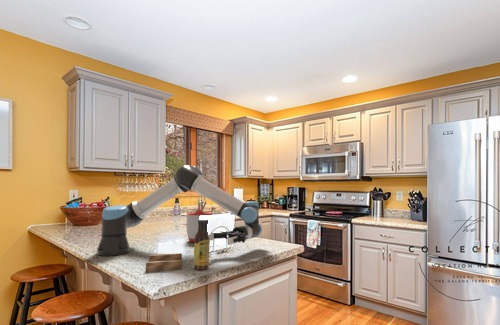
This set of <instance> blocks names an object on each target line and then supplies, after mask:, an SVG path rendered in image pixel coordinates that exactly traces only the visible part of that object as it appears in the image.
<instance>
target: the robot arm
mask: <svg viewBox="0 0 500 325" xmlns="http://www.w3.org/2000/svg"><path fill="white" fill-rule="evenodd" d="M188 191H190V192H196V193H197V194H199V195H200V196H202V197H204V198H205V199H207V200H210V201H212V202H213V203H214V204H216V205H218V206H220V207H222V208H223V209H225V210H227V211H229V212H230V213H231V214H233V215H235V216H237V217H238V218H240V219H241V220H242V222H244V225H243V224H242V225H238V226H234V228H233V229H232V230H230V231H227V230H225V231H226V232H223V231H221V232H222V233H213V232H211V234H209V235H208V236H209V240H210V241H213V240H215V239H226V240H227V246H231V245H234V244H236V243H245V242H246V241H247V240H250V239H254V238H257V237H259V236H260V235H261V234H262V232H263V228H262V226H261V224H260V221H259V217H260V216H259V211H260V210H259V209H260V207H259V202H258V201H254V200H253V201H252V200H251V201H249V200H248V201H246V202H244V201H242V200H240V199H239V198H237V197H236V196H234V195H232V194H230V193H229V192H227V191H225V190H224V189H222V188H220V187H218V186H216V185H215V184H214V183H211V182H210V181H208V180H206V179H204V175H203V171H202V170H201V169H200V168H198V167H197V166H195V165H188V164H184V165H181V166H179V167H178V168H177V170H176V171H175V174H173V175H172V179H170V180H169V181H168V182H167V183H165V184H163V185H162V186H160V187H159V188H157V189H156V190H154V191H152V192H151V193H150V194H148V195H146V196H145V197H143V198H141V199H140V200H139V201H136V200H134V201H132V202H130V203H129V204H127V205H112V206H111V205H110V206H107V207H104V208H103V210H102V214H101V237H100V241H99V244H98V246H97V248H96V255H97V256H101V257H109V256H110V257H113V256H121V255H124V254H128V253H129V252H130V250H131V249H130V248H131V247H130V244H129V243H130V242H129V240H128V238H127V233H128V232H127V230H128V229H129V228H134V227H137V226H138V225H139V224H140V223H142V222H143V221H144V220H145V219H146V218H147V215H148V214H149V213H151V212H152V211H154V210H155V209H157V208H159V207H161V205H163V204H165V203H166V202H168V201H170V200H171V199H173V198H174V197H176V196H177V195H179V194H180V193H187V192H188Z"/></svg>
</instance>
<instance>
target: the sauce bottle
mask: <svg viewBox="0 0 500 325" xmlns="http://www.w3.org/2000/svg"><path fill="white" fill-rule="evenodd" d="M207 224H208V220H198V232H197V234H196V236H195V242H194V245H193V246H194V249H193V250H194V251H193V269H194V270H198V271H200V270H201V271H203V270H207V269H208V268H209V264H210V263H209V262H210V241H211V240H209V236H208V232H207Z"/></svg>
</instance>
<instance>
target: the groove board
mask: <svg viewBox="0 0 500 325" xmlns="http://www.w3.org/2000/svg"><path fill="white" fill-rule="evenodd" d="M182 266H183V253H181V252H179V253H165V254H164V253H161V254H150V255H148V261H145V272H146V273H147V272H148V273H149V272H159V271H160V272H161V271H174V270H175V271H176V270H177V271H178V270H182V269H183V268H182Z"/></svg>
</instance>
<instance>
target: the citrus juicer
mask: <svg viewBox="0 0 500 325" xmlns="http://www.w3.org/2000/svg"><path fill="white" fill-rule="evenodd" d="M200 215H212V216H213V212H205V211H203V210H202V209H201V208H198V209H196V211H195V212H194V211H193V212H187V213H186V234H187V235H186V236H187V238H188V241H189V242H190V243H195V236H196V234H197V232H198V220H199V216H200Z"/></svg>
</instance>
